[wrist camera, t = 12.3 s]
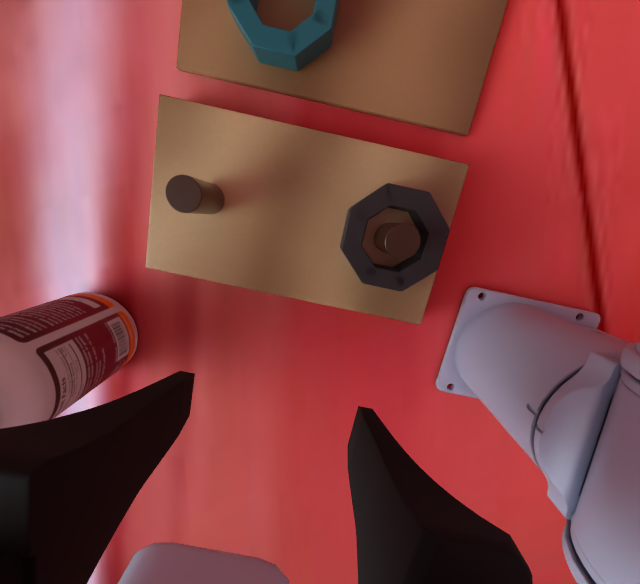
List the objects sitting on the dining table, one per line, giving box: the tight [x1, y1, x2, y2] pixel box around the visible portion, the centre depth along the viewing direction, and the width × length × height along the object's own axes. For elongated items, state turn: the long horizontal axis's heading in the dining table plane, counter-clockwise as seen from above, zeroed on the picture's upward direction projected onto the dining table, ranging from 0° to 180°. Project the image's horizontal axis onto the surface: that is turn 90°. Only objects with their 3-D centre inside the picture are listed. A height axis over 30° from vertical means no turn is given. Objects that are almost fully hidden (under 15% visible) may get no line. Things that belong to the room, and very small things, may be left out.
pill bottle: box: [0, 292, 138, 429], centre depth 17 cm, size 6×6×11 cm
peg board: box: [146, 95, 469, 325], centre depth 18 cm, size 18×10×6 cm, turn 78°
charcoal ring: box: [340, 183, 450, 291], centre depth 18 cm, size 6×6×2 cm
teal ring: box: [227, 0, 340, 71], centre depth 17 cm, size 6×6×2 cm
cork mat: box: [177, 0, 508, 136], centre depth 18 cm, size 18×8×1 cm, turn 78°
